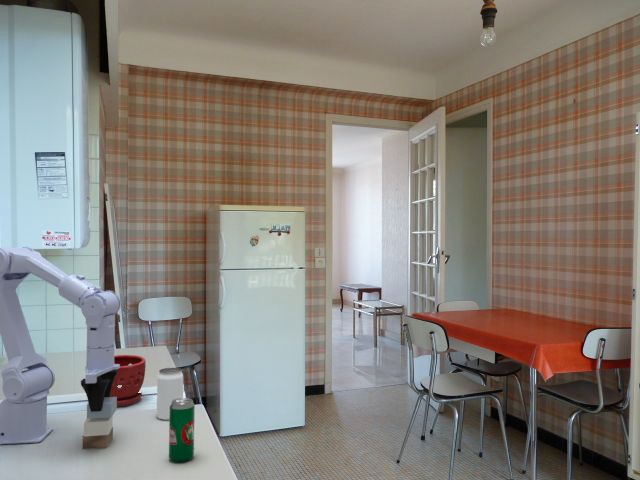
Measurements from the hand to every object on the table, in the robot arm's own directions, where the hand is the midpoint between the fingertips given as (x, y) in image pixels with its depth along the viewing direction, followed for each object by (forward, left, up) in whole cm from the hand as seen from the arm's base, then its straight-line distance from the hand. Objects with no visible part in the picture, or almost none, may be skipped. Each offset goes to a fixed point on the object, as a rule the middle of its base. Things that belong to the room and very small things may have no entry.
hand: (99, 407), depth 110 cm
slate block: (+1, 0, -2) cm, 2 cm away
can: (+13, +16, -8) cm, 22 cm away
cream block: (0, 0, -5) cm, 5 cm away
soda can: (+19, -10, -8) cm, 23 cm away
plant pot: (-2, +30, -8) cm, 31 cm away
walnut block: (0, 0, -8) cm, 8 cm away
